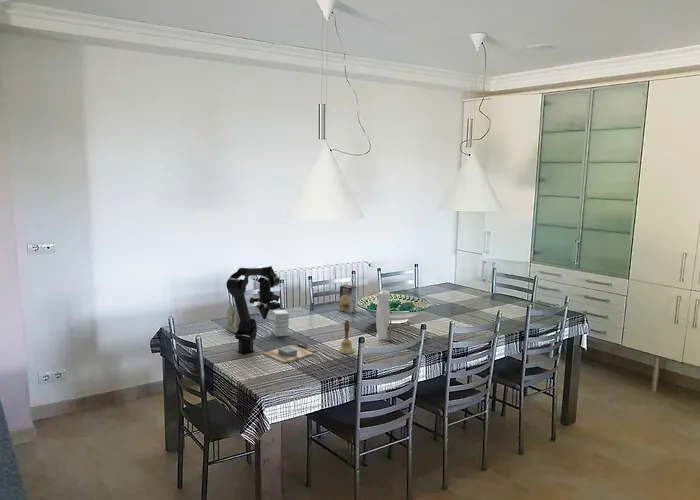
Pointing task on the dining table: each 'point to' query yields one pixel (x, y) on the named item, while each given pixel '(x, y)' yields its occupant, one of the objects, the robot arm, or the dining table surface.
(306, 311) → the dining table surface
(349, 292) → the coffee box
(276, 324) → the supplement box
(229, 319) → the beige sack
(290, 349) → the block
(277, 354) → the board
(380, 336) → the white bottle
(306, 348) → the turner
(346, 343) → the hand bell
